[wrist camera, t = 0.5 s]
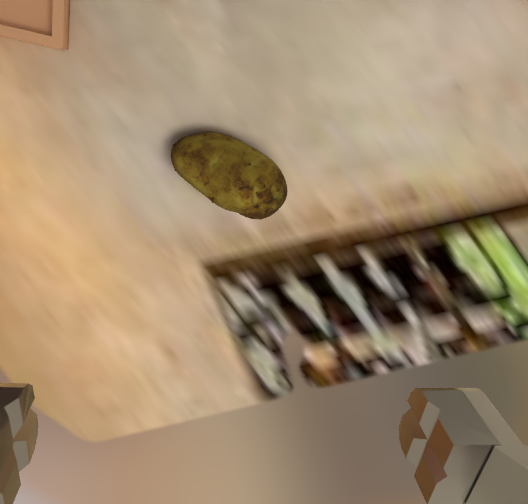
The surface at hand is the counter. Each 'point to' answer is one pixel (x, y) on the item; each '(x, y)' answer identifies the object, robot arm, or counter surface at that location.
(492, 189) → the counter surface
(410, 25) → the counter surface
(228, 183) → the potato
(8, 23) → the tray
